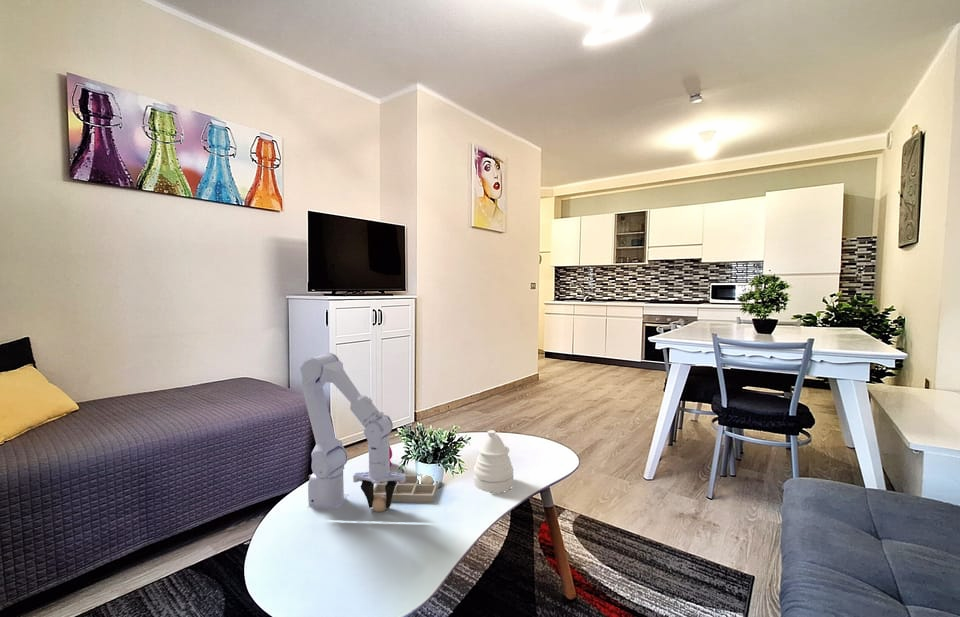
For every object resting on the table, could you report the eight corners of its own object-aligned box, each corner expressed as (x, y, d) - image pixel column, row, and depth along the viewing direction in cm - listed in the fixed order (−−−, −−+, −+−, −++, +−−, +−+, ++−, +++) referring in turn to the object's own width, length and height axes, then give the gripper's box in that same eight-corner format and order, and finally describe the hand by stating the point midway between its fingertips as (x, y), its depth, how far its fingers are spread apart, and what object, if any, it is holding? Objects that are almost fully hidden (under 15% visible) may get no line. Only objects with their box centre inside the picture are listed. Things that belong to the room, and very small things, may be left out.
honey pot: (507, 496, 127) (507, 438, 126) (468, 490, 131) (467, 434, 130) (517, 478, 139) (517, 425, 138) (481, 473, 143) (480, 421, 142)
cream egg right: (419, 489, 130) (419, 475, 130) (422, 483, 135) (421, 469, 134) (433, 490, 130) (433, 476, 130) (435, 483, 134) (435, 470, 134)
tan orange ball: (370, 515, 117) (369, 499, 117) (374, 506, 121) (374, 492, 121) (385, 515, 117) (385, 500, 116) (389, 507, 121) (389, 492, 121)
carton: (369, 502, 124) (369, 494, 124) (382, 482, 137) (382, 474, 137) (433, 504, 123) (432, 495, 123) (439, 483, 136) (439, 475, 135)
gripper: (348, 465, 115) (349, 513, 115) (400, 466, 114) (401, 514, 115) (357, 454, 122) (358, 500, 122) (406, 455, 121) (407, 501, 122)
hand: (380, 506), depth 119 cm, fingers closed on tan orange ball, 4 cm apart
